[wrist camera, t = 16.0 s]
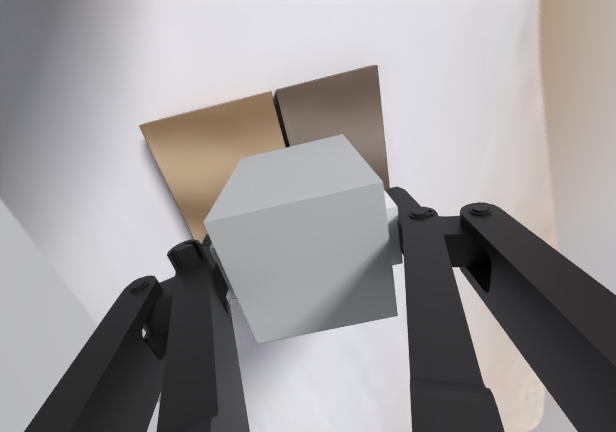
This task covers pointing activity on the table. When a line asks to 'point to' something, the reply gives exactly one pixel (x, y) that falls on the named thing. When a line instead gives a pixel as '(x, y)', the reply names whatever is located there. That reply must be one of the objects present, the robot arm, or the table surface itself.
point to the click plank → (210, 150)
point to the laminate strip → (339, 114)
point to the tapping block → (305, 240)
